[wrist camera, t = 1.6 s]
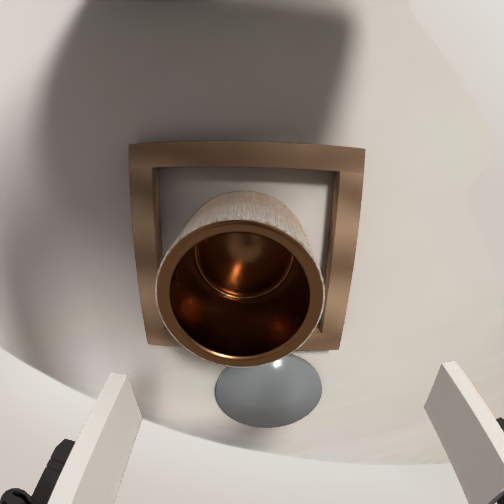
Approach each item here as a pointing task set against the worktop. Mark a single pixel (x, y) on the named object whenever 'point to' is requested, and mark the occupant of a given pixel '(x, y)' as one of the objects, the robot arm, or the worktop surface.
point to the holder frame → (249, 155)
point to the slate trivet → (269, 392)
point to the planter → (240, 282)
